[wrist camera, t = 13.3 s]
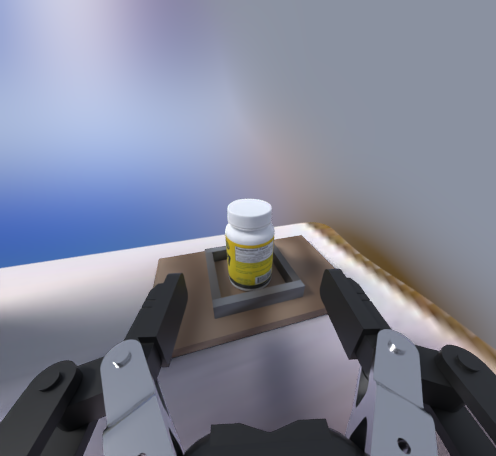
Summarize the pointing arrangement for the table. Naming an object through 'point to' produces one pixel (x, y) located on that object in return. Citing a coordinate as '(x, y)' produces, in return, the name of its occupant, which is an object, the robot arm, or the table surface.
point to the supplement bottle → (249, 244)
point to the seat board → (245, 294)
